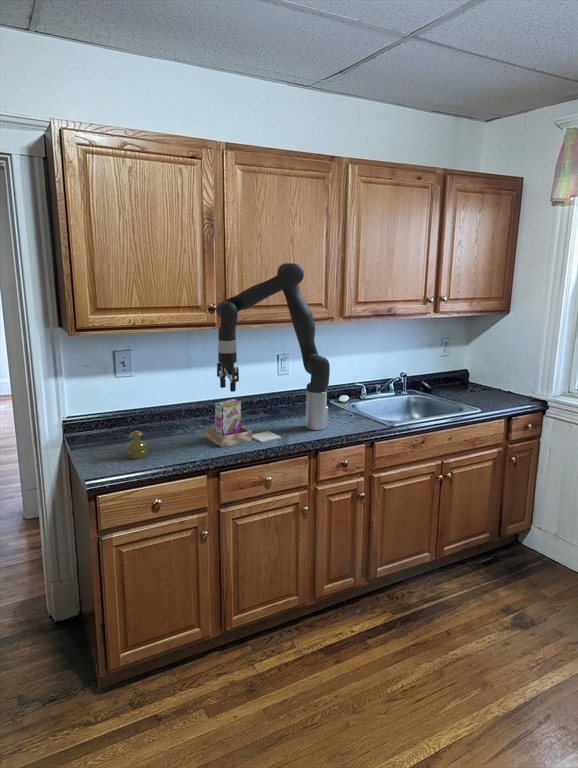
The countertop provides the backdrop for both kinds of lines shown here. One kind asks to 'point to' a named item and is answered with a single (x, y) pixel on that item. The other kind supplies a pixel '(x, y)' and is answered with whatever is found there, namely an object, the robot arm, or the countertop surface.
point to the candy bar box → (228, 417)
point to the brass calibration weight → (136, 446)
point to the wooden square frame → (228, 437)
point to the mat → (265, 436)
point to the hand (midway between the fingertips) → (227, 389)
